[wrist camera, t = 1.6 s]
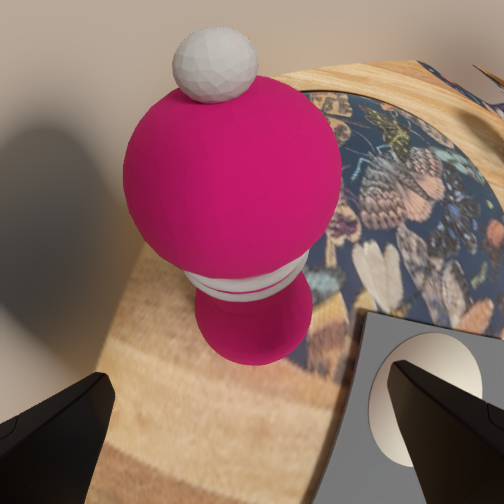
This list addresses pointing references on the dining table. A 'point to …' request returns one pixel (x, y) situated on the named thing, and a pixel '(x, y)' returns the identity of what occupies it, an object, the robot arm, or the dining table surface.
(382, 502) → the mat
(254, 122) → the pepper mill
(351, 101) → the dining table surface
